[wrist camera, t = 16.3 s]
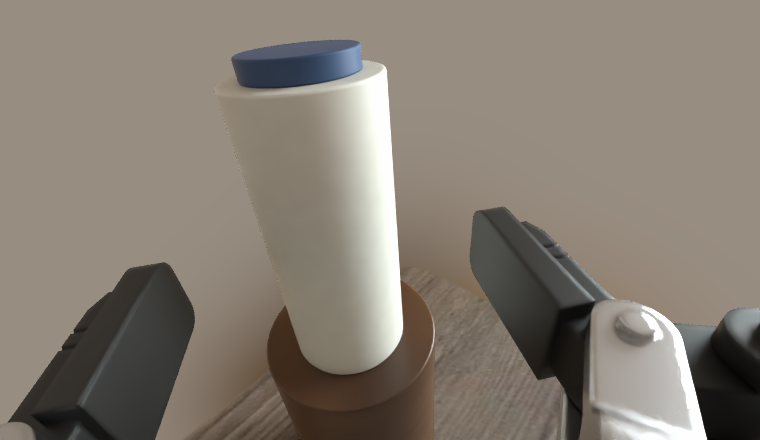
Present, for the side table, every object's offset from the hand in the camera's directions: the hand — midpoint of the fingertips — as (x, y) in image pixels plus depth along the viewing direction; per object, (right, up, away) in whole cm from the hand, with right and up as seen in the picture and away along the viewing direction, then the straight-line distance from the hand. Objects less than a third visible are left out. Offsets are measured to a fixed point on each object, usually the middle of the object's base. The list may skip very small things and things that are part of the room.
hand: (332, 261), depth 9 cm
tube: (0, -3, +5) cm, 6 cm away
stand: (+1, -13, +11) cm, 17 cm away
